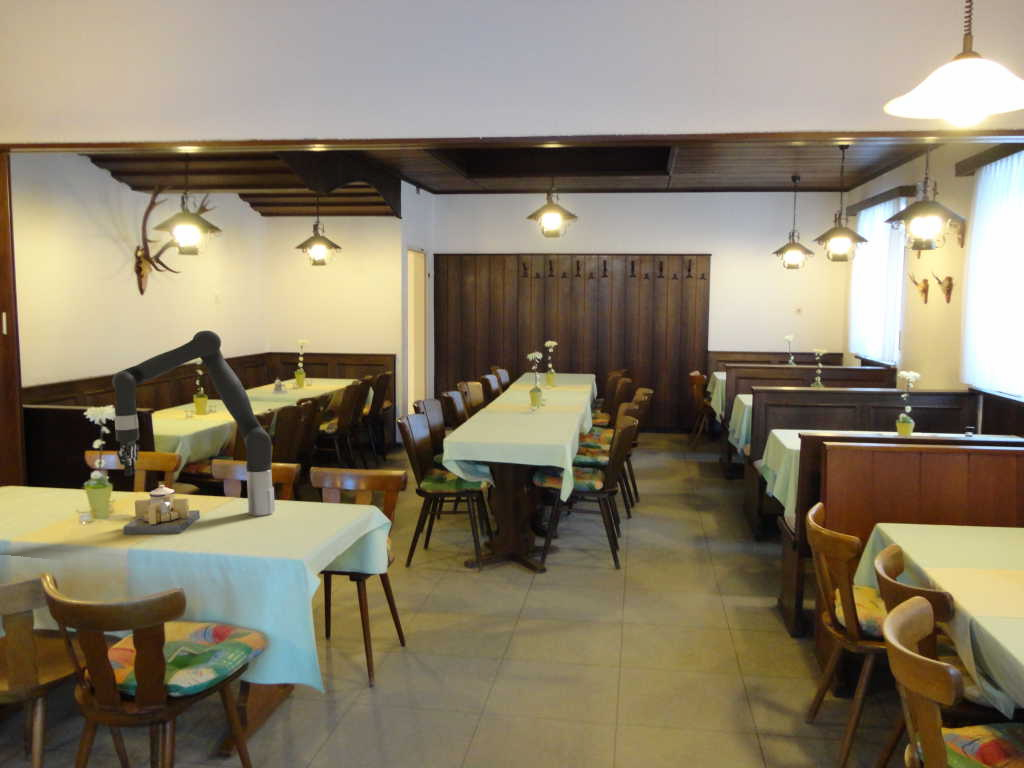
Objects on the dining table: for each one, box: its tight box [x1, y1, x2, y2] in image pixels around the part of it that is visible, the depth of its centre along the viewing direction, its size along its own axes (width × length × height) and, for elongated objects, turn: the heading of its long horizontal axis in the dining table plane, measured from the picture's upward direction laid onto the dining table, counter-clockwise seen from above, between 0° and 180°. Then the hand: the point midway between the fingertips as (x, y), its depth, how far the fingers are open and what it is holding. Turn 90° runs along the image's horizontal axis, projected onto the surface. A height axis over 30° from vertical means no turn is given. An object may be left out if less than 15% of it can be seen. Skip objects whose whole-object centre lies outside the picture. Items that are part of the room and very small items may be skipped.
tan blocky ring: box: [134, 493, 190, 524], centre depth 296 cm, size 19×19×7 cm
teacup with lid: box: [148, 484, 175, 504], centre depth 313 cm, size 12×9×12 cm
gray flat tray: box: [123, 500, 201, 536], centre depth 296 cm, size 20×20×9 cm
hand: (130, 474), depth 288 cm, fingers closed
